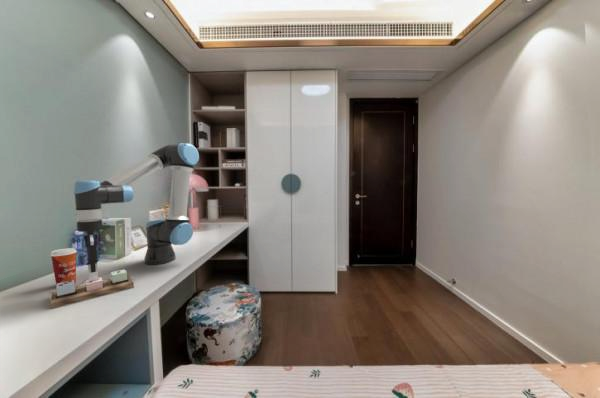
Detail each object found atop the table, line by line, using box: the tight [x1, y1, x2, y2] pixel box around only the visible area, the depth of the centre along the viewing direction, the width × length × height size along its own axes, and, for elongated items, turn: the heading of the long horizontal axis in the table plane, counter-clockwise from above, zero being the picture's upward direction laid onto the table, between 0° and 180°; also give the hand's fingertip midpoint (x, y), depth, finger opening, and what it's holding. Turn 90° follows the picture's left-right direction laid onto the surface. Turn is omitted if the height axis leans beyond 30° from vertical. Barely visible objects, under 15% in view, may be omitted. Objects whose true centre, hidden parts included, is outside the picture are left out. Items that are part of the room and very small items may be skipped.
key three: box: [55, 280, 76, 296], centre depth 91 cm, size 5×5×4 cm
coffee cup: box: [49, 247, 78, 287], centre depth 104 cm, size 8×8×15 cm
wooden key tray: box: [50, 274, 135, 309], centre depth 97 cm, size 24×12×2 cm, turn 134°
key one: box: [110, 269, 128, 283], centre depth 102 cm, size 5×5×4 cm
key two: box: [85, 276, 103, 291], centre depth 96 cm, size 5×5×4 cm
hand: (93, 279), depth 96 cm, fingers closed
